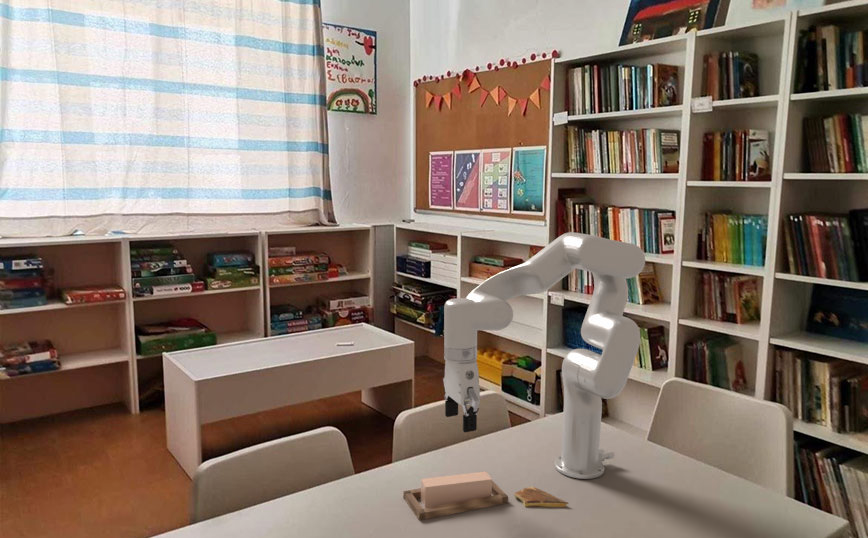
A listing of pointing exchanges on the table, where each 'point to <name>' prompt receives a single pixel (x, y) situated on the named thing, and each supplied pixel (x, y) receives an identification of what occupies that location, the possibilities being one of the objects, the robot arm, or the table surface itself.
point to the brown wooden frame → (453, 508)
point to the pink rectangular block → (455, 489)
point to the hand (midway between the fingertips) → (460, 423)
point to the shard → (538, 498)
